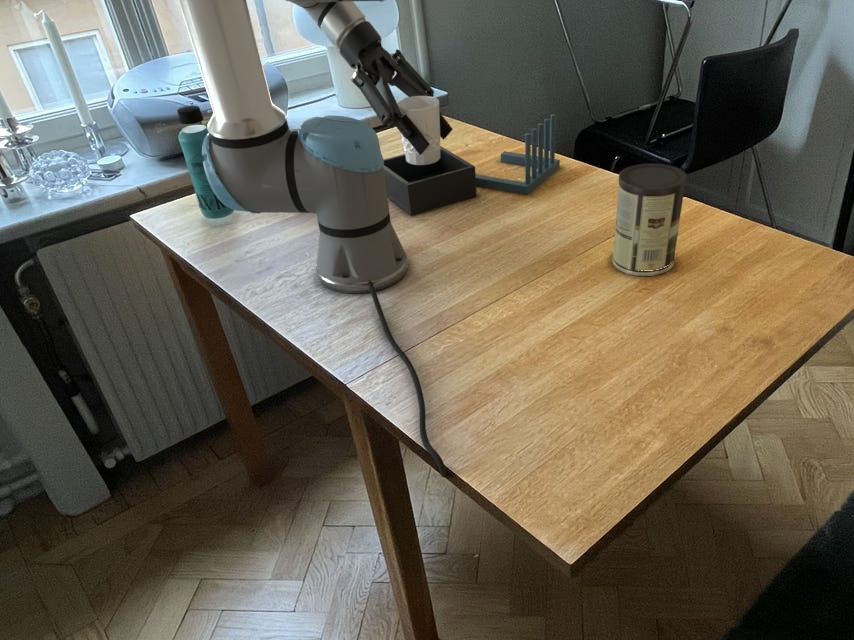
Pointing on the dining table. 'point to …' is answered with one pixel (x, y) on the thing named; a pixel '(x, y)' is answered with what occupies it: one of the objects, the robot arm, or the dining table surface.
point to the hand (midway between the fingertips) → (436, 141)
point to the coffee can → (648, 218)
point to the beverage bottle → (199, 162)
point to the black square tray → (429, 182)
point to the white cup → (422, 127)
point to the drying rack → (528, 162)
